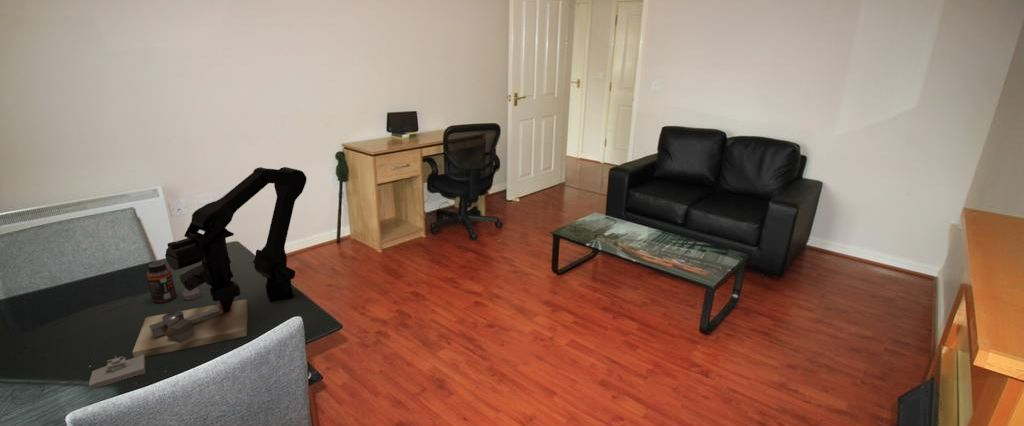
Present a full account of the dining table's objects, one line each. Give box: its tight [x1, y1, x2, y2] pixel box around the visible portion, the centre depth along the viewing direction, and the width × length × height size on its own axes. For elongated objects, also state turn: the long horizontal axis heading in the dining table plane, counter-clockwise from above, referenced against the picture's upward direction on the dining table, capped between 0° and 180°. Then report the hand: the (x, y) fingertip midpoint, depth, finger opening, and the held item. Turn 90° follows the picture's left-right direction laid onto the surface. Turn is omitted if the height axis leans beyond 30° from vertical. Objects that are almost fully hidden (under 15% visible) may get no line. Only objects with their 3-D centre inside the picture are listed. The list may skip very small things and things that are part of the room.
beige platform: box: [88, 354, 147, 390], centre depth 113 cm, size 12×11×4 cm
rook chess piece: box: [181, 270, 201, 301], centre depth 145 cm, size 4×4×8 cm
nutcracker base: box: [132, 299, 249, 358], centre depth 129 cm, size 24×17×6 cm
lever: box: [149, 301, 232, 338], centre depth 128 cm, size 18×4×7 cm, turn 137°
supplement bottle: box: [146, 260, 177, 304], centre depth 143 cm, size 6×6×11 cm
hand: (225, 307), depth 133 cm, fingers open, 5 cm apart
